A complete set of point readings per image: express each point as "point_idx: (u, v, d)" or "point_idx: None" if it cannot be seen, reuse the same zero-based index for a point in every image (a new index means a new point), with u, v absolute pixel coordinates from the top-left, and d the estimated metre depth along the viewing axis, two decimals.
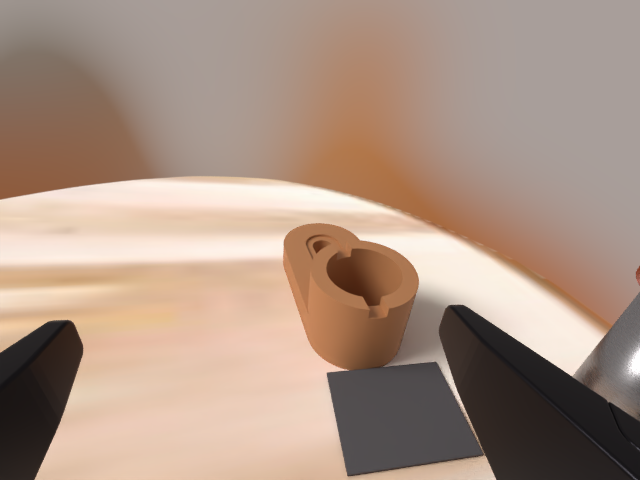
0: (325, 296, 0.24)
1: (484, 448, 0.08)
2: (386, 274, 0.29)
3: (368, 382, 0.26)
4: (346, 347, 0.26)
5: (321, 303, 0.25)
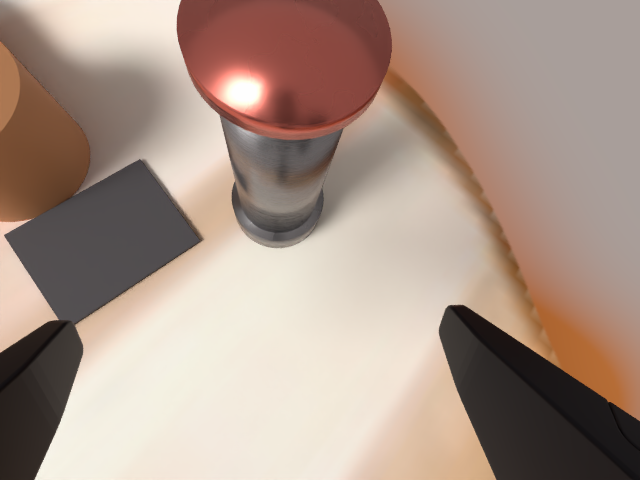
0: None
1: (484, 448, 0.08)
2: None
3: (61, 222, 0.21)
4: None
5: None
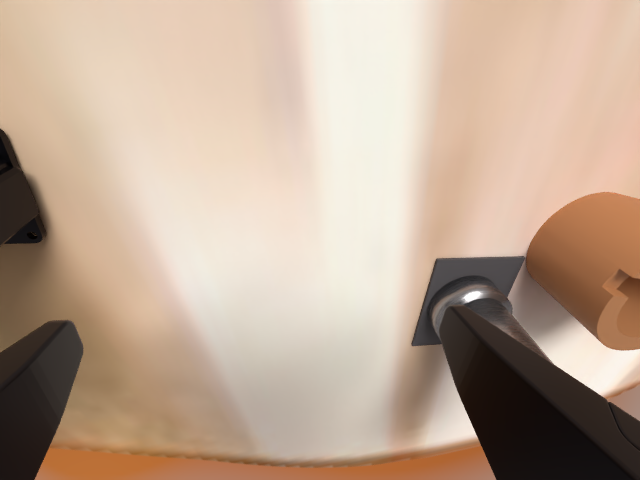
0: None
1: (484, 448, 0.08)
2: (622, 317, 0.24)
3: None
4: (590, 226, 0.22)
5: None
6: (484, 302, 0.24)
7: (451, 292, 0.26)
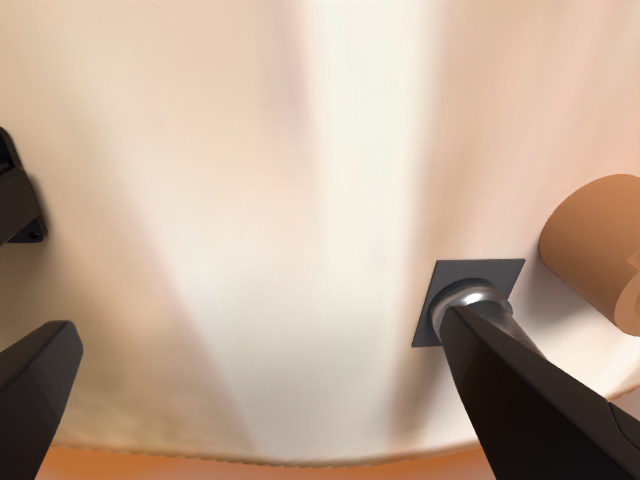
0: None
1: (484, 448, 0.08)
2: (634, 303, 0.23)
3: None
4: (614, 202, 0.21)
5: None
6: (484, 304, 0.24)
7: (451, 294, 0.26)
